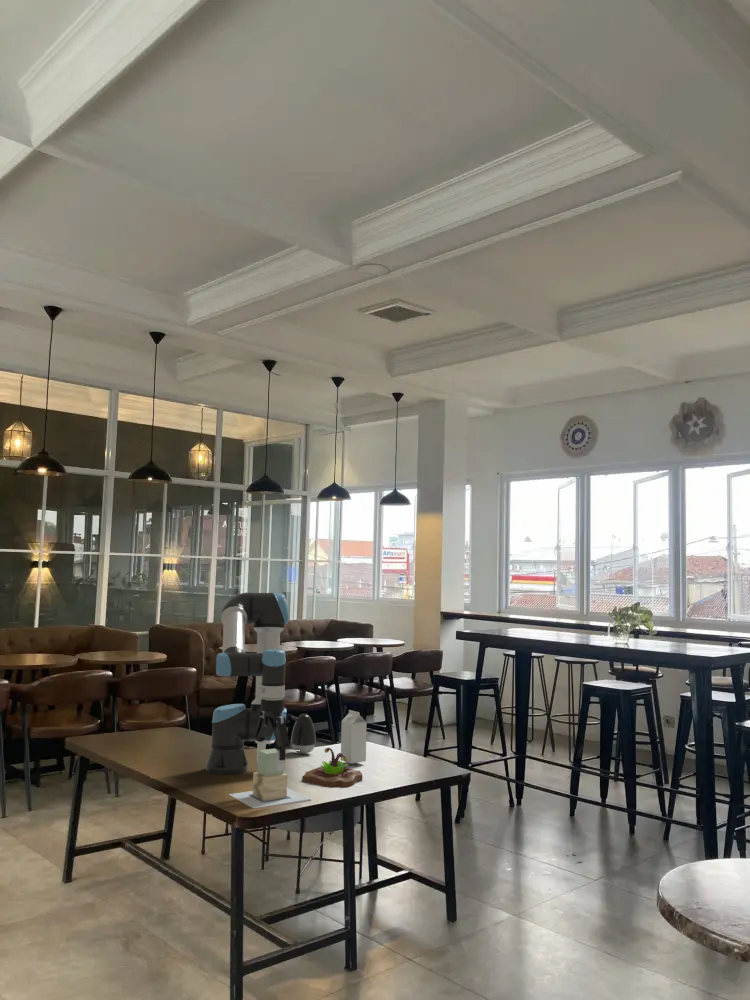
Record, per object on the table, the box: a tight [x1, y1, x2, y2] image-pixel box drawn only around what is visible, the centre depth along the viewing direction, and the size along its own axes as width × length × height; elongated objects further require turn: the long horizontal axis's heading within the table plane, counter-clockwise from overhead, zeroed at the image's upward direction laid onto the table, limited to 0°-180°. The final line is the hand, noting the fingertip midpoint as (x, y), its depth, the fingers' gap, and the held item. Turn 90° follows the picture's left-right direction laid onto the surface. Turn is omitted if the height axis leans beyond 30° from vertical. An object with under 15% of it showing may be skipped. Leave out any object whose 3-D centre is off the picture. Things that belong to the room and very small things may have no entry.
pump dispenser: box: [290, 713, 317, 754], centre depth 329 cm, size 10×10×15 cm
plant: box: [301, 747, 363, 788], centre depth 285 cm, size 20×20×11 cm
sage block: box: [257, 748, 284, 777], centre depth 258 cm, size 6×6×7 cm
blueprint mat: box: [228, 787, 312, 809], centre depth 257 cm, size 18×20×1 cm
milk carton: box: [340, 709, 367, 764], centre depth 315 cm, size 7×7×19 cm
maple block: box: [252, 771, 288, 801], centre depth 258 cm, size 8×8×7 cm
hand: (270, 766), depth 258 cm, fingers open, 13 cm apart
